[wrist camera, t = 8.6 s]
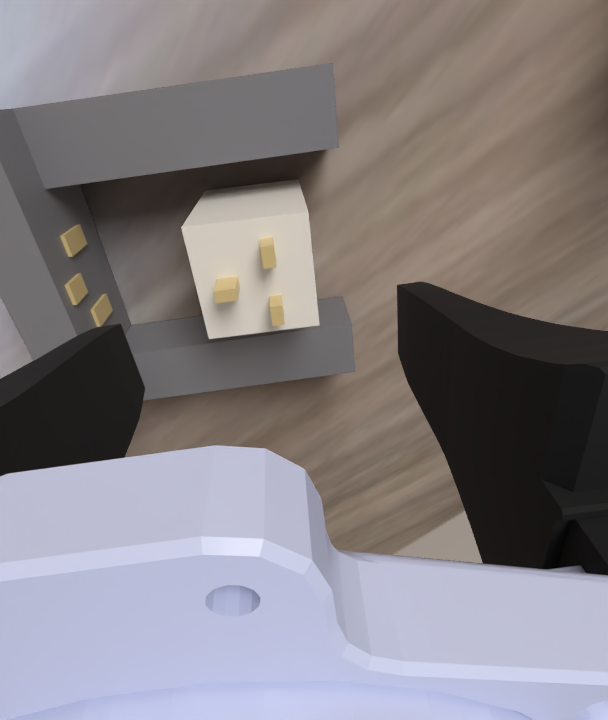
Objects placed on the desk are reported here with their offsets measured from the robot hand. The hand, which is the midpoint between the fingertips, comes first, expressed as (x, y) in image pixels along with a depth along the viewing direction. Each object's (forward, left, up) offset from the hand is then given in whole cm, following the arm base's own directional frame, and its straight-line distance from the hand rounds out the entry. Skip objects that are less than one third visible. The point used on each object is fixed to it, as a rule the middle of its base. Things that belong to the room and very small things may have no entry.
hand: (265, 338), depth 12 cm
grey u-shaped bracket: (0, +3, -10) cm, 10 cm away
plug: (0, 0, -10) cm, 10 cm away
